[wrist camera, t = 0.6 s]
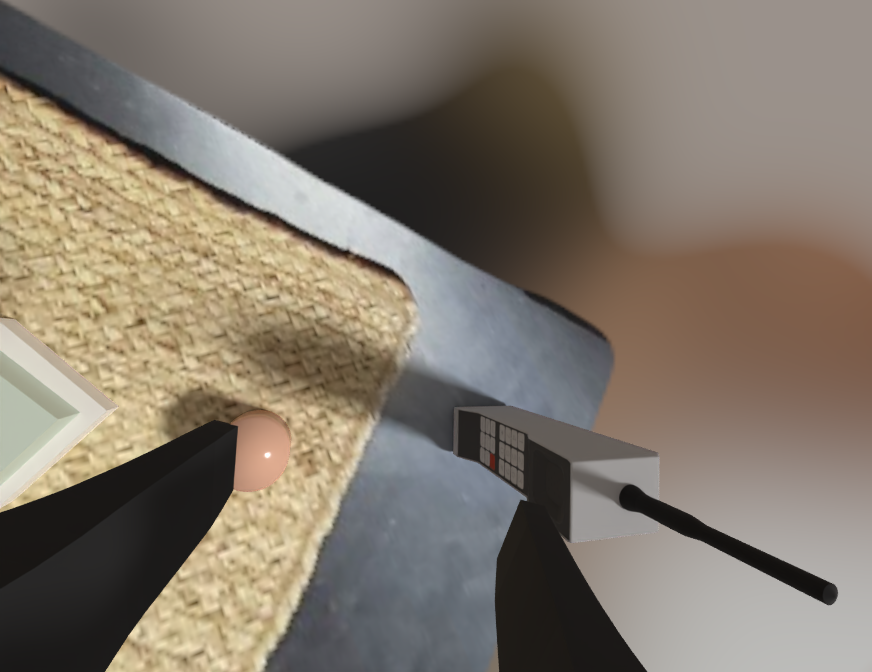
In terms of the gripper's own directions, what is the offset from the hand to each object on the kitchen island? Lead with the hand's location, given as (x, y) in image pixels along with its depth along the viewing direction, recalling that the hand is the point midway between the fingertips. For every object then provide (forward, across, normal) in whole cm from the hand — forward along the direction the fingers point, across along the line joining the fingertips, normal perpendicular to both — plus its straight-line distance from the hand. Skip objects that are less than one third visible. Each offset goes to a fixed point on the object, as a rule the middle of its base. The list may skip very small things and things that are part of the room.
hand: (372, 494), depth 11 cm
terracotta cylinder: (+17, +10, +14) cm, 24 cm away
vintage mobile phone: (+23, -6, +12) cm, 26 cm away
